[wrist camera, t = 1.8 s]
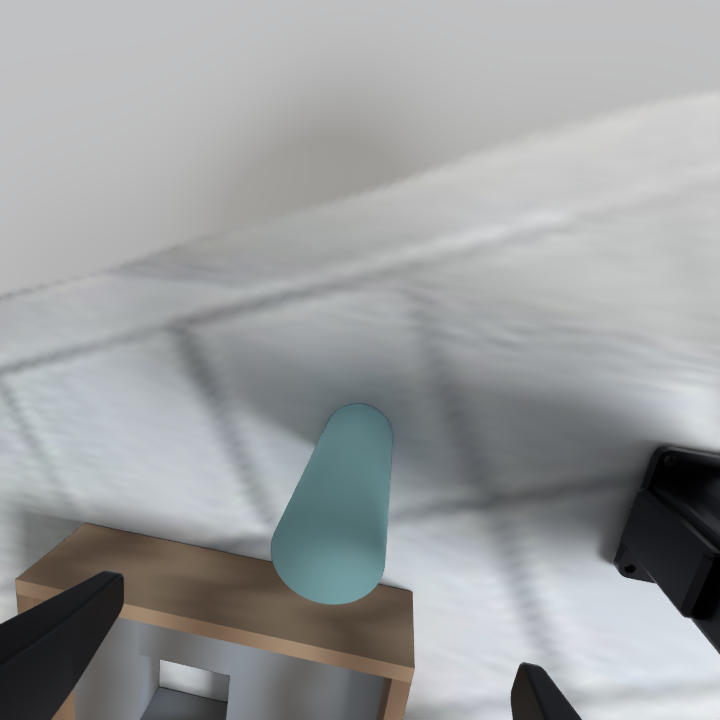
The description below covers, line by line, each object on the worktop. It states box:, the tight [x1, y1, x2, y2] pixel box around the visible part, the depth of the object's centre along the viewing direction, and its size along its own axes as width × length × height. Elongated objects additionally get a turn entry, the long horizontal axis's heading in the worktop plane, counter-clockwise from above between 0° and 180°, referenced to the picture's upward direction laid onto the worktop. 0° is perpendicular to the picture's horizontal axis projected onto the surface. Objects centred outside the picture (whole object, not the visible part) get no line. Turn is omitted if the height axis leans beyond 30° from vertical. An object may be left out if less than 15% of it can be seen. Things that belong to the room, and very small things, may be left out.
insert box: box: [15, 523, 415, 720], centre depth 21 cm, size 18×16×4 cm
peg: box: [271, 404, 393, 605], centre depth 15 cm, size 3×3×8 cm
